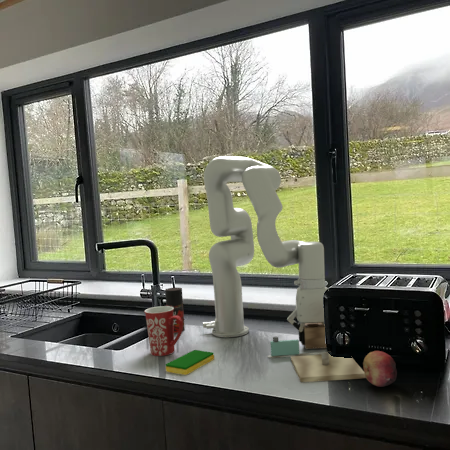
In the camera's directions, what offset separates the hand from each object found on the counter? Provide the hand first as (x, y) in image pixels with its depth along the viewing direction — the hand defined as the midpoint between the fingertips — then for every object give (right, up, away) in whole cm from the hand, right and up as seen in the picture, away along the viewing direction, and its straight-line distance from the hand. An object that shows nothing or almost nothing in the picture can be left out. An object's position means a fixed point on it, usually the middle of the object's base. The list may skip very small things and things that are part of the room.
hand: (313, 342), depth 146 cm
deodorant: (-44, -3, +28) cm, 52 cm away
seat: (-3, -3, -16) cm, 16 cm away
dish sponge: (-36, -5, -9) cm, 38 cm away
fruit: (+10, -3, -31) cm, 33 cm away
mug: (-44, -4, +3) cm, 45 cm away
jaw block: (0, -1, 0) cm, 1 cm away
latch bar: (-9, -2, -6) cm, 12 cm away
